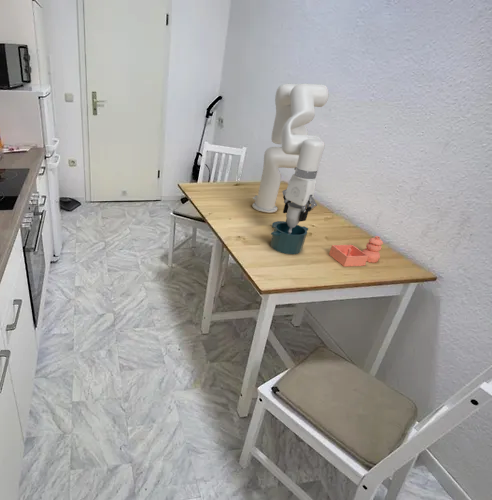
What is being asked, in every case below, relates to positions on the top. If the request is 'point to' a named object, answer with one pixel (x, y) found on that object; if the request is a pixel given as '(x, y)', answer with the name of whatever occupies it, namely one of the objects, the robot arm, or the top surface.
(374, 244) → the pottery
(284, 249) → the pot
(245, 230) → the top surface
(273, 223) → the lid
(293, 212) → the chalice
